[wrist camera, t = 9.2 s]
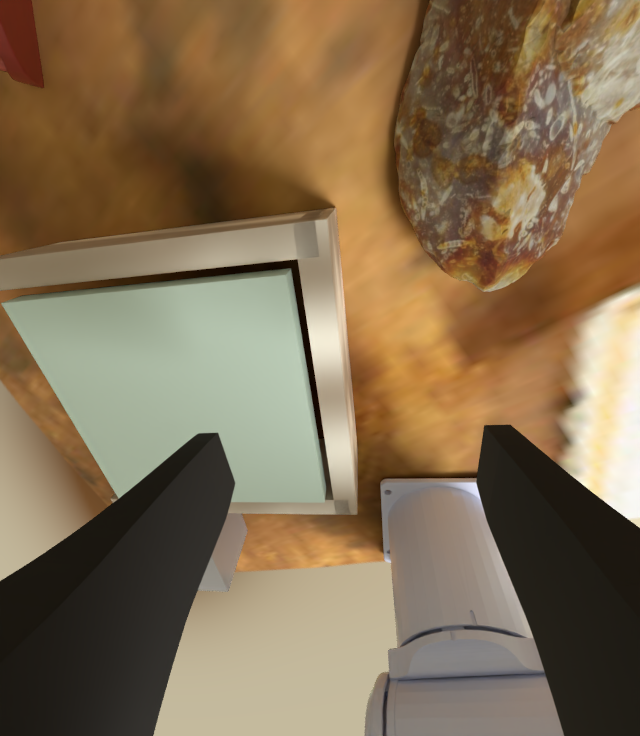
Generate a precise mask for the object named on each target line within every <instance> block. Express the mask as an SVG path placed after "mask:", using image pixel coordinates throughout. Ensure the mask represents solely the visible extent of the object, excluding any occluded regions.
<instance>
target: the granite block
mask: <svg viewBox="0 0 640 736" xmlns="http://www.w3.org/2000/svg"><path fill="white" fill-rule="evenodd" d="M247 531H248V530H247V527H246V524H245V522H244V519H243V516H242V513H228V514H227V518H226V520H225V523H224V526H223V528H222V531H221V533H220V536H219V538H218V541H217V543H216V546H215V548H214V551H213V553H212V556H211V558H210V561H209V563H208V566H207V568H206V571H205V573H204V576H203V578H202V581H201V583H200V586H199V588H198V590H201V591H202V590H203V591H224V592H228V591H229V588H230V584H231V581H232V578H233V575H234V572H235V569H236V566H237V563H238V559H239V556H240V553H241V550H242V547H243V544H244V541H245V537H246V534H247Z"/></svg>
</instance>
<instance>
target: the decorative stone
mask: <svg viewBox="0 0 640 736" xmlns="http://www.w3.org/2000/svg"><path fill="white" fill-rule="evenodd" d="M420 43H421V46H420V47H419V49H418V51H417V52H416V54H415V57H414V60H413V64H412V67H411V70H410V72H409V75H408V77H407V80H406V83H405V85H404V88H403V90H402V93H401V99H400V107H399V112H398V116H397V121H396V127H395V133H394V148H395V152H396V167H397V171H398V175H399V196H400V202H401V205H402V208H403V210H404V212H405V214H406V216H407V218H408V220H409V221H410V222H411V224H412V227H413V229H414V232H415V234H416V236H417V238H418V240H419V241H420V243H421V245H422V247H423V249H424V251H425V252H426V253H427V254H428V255H429V256H430V257H431V258H432V259H433V260H434V261H435V262H436V263H437V264H438V266H439V267H440V268H441V270H443V271H444V272H445V273H447V274H448V275H450V276H451V277H453V278H456V279H458V280H463V281H468V282H471V283H473V284H474V285H475V286H476V287H477V288H479V289H480V290H482V291H483V292H485V291H489V292H490V291H493V290H496V289H500V288H503V287H505V286H508V285H509V284H511V283H512V282H514V281H516V280H518V279H519V278H520V277H521V276H523V275H524V274H525V273H526V272H527V271H528V269H529V268H530V267H531V265H532V264H533V263H534V262H536V261H538V260H540V259H541V258H542V257H543V256H544V255H545V253H546V251H547V250H549V249H550V248H551V247H552V246H554V245H556V244H557V242H558V241H559V239H560V238H561V236H562V234H563V231H564V228H565V225H566V220H567V217H568V213H569V210H570V207H571V205H572V203H573V200H574V194H575V192H576V191H577V190H578V188H579V187H580V182H581V178H582V175H586V174H587V173H588V172H590V170H591V168H592V166H593V165H594V163H595V161H596V159H597V156H598V154H599V152H600V149H601V145H602V141H603V139H604V138H605V137H606V135H607V134H608V132H609V130H610V127H611V124H615V123H617V122H618V121H619V119H620V118H621V116H622V115H623V114H624V113H626V112H627V111H628V110H630V111H631V110H633V109H640V0H430V1H429V5H428V8H427V11H426V14H425V18H424V24H423V31H422V35H421V38H420Z"/></svg>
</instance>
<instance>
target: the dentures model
mask: <svg viewBox="0 0 640 736" xmlns="http://www.w3.org/2000/svg"><path fill="white" fill-rule="evenodd" d="M0 70H2V71H6V72H8V73H9V75H10V76H11V77H12V79H14V80H16V81H18V82H22V83H26V84H29V85H33V86H37V87H40V88H44V83H43V75H42V68H41V62H40V55H39V48H38V41H37V34H36V28H35V21H34V14H33V7H32V1H31V0H0Z"/></svg>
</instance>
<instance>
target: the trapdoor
mask: <svg viewBox="0 0 640 736" xmlns="http://www.w3.org/2000/svg"><path fill="white" fill-rule="evenodd" d="M1 304H2V306H3V307H4V309H5V311H6V312H7V314H8V316H9V317H10V319H11V321H12V322H13V324H14V326H15V327H16V329H17V331H18V332H19V334H20V336H21V337H22V339H23V341H24V342H25V344H26V345H27V347H28V349H29V350H30V352H31V354H32V355H33V357H34V359H35V360H36V362H37V364H38V365H39V367H40V369H41V370H42V372H43V374H44V375H45V377H46V379H47V380H48V382H49V384H50V385H51V387H52V389H53V390H54V392H55V394H56V395H57V397H58V399H59V400H60V402H61V404H62V405H63V407H64V409H65V410H66V412H67V414H68V415H69V417H70V419H71V420H72V422H73V424H74V425H75V427H76V429H77V430H78V432H79V434H80V435H81V437H82V438H83V440H84V442H85V443H86V445H87V447H88V448H89V450H90V452H91V453H92V455H93V457H94V458H95V460H96V462H97V463H98V465H99V467H100V468H101V470H102V472H103V473H104V475H105V477H106V478H107V480H108V482H109V483H110V485H111V487H112V488H113V490H114V492H115V493H116V495H117V497H118V498H120V497H121V496H123V495H124V494H125V493H126V492H128V491H129V490H130V489H131V488H133V487H134V486H135V485H136V484H137V483H139V482H140V481H141V480H142V479H143V478H145V477H146V476H147V475H148V474H149V473H151V472H152V471H153V470H154V469H155V468H157V467H158V466H159V465H160V464H161V463H163V462H164V461H165V460H166V459H167V458H169V457H170V456H171V455H172V454H173V453H174V452H176V451H177V450H178V449H179V448H180V447H182V446H183V445H184V444H185V443H186V442H188V441H189V440H190V439H191V438H193V437H194V436H195V435H197V434H198V433H218V434H219V437H220V440H221V443H222V445H223V448H224V451H225V454H226V457H227V460H228V463H229V466H230V469H231V472H232V474H233V477H234V480H235V487H234V491H233V495H232V499H231V502H293V503H325V495H326V482H325V476H324V470H323V464H322V457H321V451H320V445H319V439H318V433H317V426H316V420H315V414H314V408H313V402H312V395H311V389H310V383H309V377H308V370H307V364H306V358H305V352H304V346H303V339H302V333H301V327H300V321H299V315H298V308H297V302H296V296H295V290H294V284H293V277H292V271H291V268H288V269H278V270H269V271H259V272H249V273H239V274H229V275H220V276H210V277H200V278H190V279H180V280H171V281H161V282H151V283H141V284H131V285H122V286H112V287H102V288H92V289H82V290H73V291H63V292H53V293H43V294H33V295H24V296H20V297H17V298H14V299H11V300H8V301H6V302H3V303H1Z"/></svg>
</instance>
